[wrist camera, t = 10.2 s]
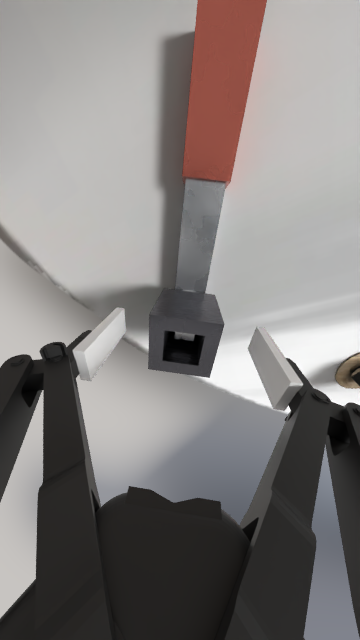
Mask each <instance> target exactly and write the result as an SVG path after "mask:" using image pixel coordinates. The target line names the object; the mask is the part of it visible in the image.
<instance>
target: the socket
mask: <svg viewBox="0 0 360 640" xmlns="http://www.w3.org/2000/svg"><path fill="white" fill-rule="evenodd" d="M223 328H224V322H223V319H222V316H221V313H220V309H219V306H218V303H217V300H216V297H215V295H212V294H205V293H197V292H190V291H182V290H175V289H167V288H164V289H163V291H162V293H161V295H160V296H159V298H158V300H157V302H156V304H155V305H154V307H153V309H152V311H151V313H150V317H149V362H148V365H149V366H148V369H152V370H160V371H166V372H173V373H180V374H187V375H194V376H201V377H208V378H210V374H211V371H212V367H213V363H214V360H215V356H216V353H217V349H218V346H219V342H220V338H221V335H222V331H223ZM175 332H181V333H188V334H195V336H194V341H190V340H182V339H175Z"/></svg>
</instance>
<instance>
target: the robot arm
mask: <svg viewBox="0 0 360 640" xmlns="http://www.w3.org/2000/svg"><path fill="white" fill-rule="evenodd" d="M125 332H126V324H125V309H124V308H119V307H117V308H116V309H115V310H114V311H113V312H112V313H110V314H109V315H108V316H107V317H106V318H105V319H104V320H103V321H102V322H101V323H100V324H99V325H98V326H97V327H96V328H95V329H94V330H93V331H91V330H88V331H86V332H84V333H82V334H81V335H80V336H79V337H78V338H76V339H75V341H73V342H72V343H71V344H70V345H69V346H68V347H66V345H65V344H64V343H62V342H53V343H50V344H47V345H45V346H44V347H42V348H41V350H40V354H41V356H42V359H40V360H32V358H31V357H30V356H29V355H18V356H15V357H12V358H10V359H8V360H7V361H5V362H4V363H3V365H2V366H1V368H0V502H1V499H2V496H3V494H4V491H5V488H6V486H7V483H8V480H9V478H10V474H11V472H12V470H13V467H14V464H15V461H16V459H17V456H18V453H19V451H20V448H21V445H22V443H23V440H24V437H25V435H26V432H27V429H28V427H29V424H30V421H31V419H32V416H33V413H34V410H35V408H36V405H37V403H38V400H39V397H40V394H41V392H42V390H44V419H43V423H44V424H43V428H44V429H43V433H44V434H43V448H44V449H43V484H42V486H41V487H40V488H39V492H38V510H37V554H36V579H35V580H34V582H33V583H32V584H31V585H30V586H29V587H28V588H27V589H26V590H25V592H24V593H23V594H22V595H21V596H20V597H19V598H18V599H17V601H16V602H15V603H14V604H13V605H12V606H11V607H10V608H9V609H8V611H7V612H6V613H5V614H4V615H3V616H2V617H1V619H0V640H305V639H304V638H303V635H304V629H305V622H306V615H307V608H308V601H309V594H310V587H311V580H312V573H313V565H314V559H315V551H316V537H315V534H314V533H313V531H312V528H311V525H312V518H313V512H314V506H315V500H316V495H317V489H318V483H319V477H320V471H321V465H322V459H323V454H324V448H325V444H326V449H327V456H328V462H329V467H330V473H331V479H332V485H333V491H334V497H335V502H336V508H337V515H338V520H339V526H340V532H341V538H342V544H343V550H344V555H345V562H346V567H347V573H348V579H349V585H350V591H351V597H352V603H353V608H354V613H355V618H356V623H357V628H358V633H359V637H360V405H358V404H355V403H347V404H346V405H345V406H341V405H338V404H336V403H333V402H331V400H330V399H329V398H328V397H327V396H326V395H325V394H324V393H322V392H321V391H319V390H317V389H314V388H313V387H312V386H311V384H310V383H309V382H308V380H307V379H306V378H305V376H304V375H303V374H302V372H301V371H300V370H299V368H298V367H297V365H296V364H295V363H294V362H293V361H292V360H290V359H288V358H285V357H284V355H283V354H282V352H281V351H280V349H279V348H278V347H277V345H276V344H275V342H274V341H273V339H272V338H271V336H270V335H269V334H268V332H267V331H266V329H265V328H263V327H256V330H255V332H254V335H253V337H252V340H251V342H250V345H249V347H248V350H249V353H250V355H251V357H252V360H253V362H254V364H255V367H256V369H257V371H258V374H259V376H260V378H261V381H262V383H263V385H264V388H265V390H266V392H267V395H268V397H269V400H270V402H271V404H272V407H273V409H277V410H283V411H285V409H286V408H287V407H288V405H289V407H290V409H291V412H290V413H289V414H288V416H287V417H286V418H285V421H286V422H285V424H284V427H283V429H282V432H281V434H280V436H279V439H278V441H277V443H276V446H275V448H274V450H273V453H272V455H271V458H270V460H269V462H268V465H267V467H266V469H265V472H264V474H263V476H262V479H261V481H260V484H259V486H258V488H257V491H256V493H255V495H254V498H253V500H252V503H251V505H250V507H249V509H248V511H247V513H246V514H245V516H244V518H243V519H242V521H241V523H240V526H239V525H238V524H237V522H236V521H235V520H234V519H233V518H232V517H231V516H230V515H229V514H227V513H226V512H225V511H223V510H222V509H221V504H220V502H219V501H213V500H207V499H201V498H195V499H190V500H186V501H181V502H177V503H173V502H171V501H169V500H167V499H166V498H164V497H162V496H161V495H159V494H157V493H155V492H154V491H152V490H149V489H143V488H137V487H131V486H129V489H128V492H127V493H123V494H121V495H118V496H116V497H114V498H112V499H111V500H109V501H108V502H106V503H105V504H104V505H103V506H102V507H101V505H100V499H99V496H98V491H97V487H96V483H95V478H94V472H93V467H92V462H91V456H90V451H89V446H88V440H87V435H86V430H85V425H84V419H83V414H82V409H81V403H80V398H79V393H78V387H77V382H76V377H77V376H78V375H80V378H81V380H87V381H92V379H93V378H94V376H95V375H96V373H97V372H98V370H99V369H100V368H101V366H102V365H103V363H104V362H105V360H106V359H107V358H108V356H109V355H110V353H111V352H112V351H113V349H114V348H115V346H116V345H117V343H118V342H119V340H120V339H121V338H122V336H123V335H124V333H125Z"/></svg>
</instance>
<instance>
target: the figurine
mask: <svg viewBox="0 0 360 640" xmlns="http://www.w3.org/2000/svg"><path fill="white" fill-rule="evenodd" d="M349 358H350V357H349ZM343 363H344V361H343ZM343 363H341V365H342V364H343ZM341 365H340V366H341ZM340 366H339V367H340ZM335 378H336V381H337V382H338V383H339V384H340V385H341V386H343V387H345V388H352V389H353V388H360V353H359V354H357V355H355V356H352V357H351V358H350V359H349V360H347V361H346V362H345V363H344V364H343V365H342V366H341V367H340V368H339V370H338V371H337V374H336V376H335Z"/></svg>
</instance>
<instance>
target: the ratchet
mask: <svg viewBox="0 0 360 640" xmlns="http://www.w3.org/2000/svg"><path fill="white" fill-rule="evenodd" d="M266 2H267V0H198V4H197V15H196V27H195V38H194V49H193V60H192V72H191V83H190V94H189V106H188V117H187V128H186V139H185V151H184V162H183V173H182V177H183V182H184V184H185V192H184V202H183V213H182V223H181V233H180V243H179V254H178V264H177V274H176V285H175V290H182V291H190V292H197V293H205V291H206V285H207V280H208V275H209V270H210V265H211V259H212V254H213V249H214V244H215V238H216V233H217V228H218V223H219V218H220V212H221V207H222V202H223V197H224V191H225V189H226V187H227V186H228V184H229V183H230V181H231V176H232V171H233V167H234V162H235V157H236V152H237V147H238V142H239V137H240V132H241V127H242V122H243V117H244V112H245V107H246V102H247V97H248V92H249V87H250V82H251V77H252V72H253V67H254V62H255V57H256V52H257V47H258V42H259V37H260V32H261V27H262V22H263V17H264V12H265V7H266ZM194 336H195V334H188V333H181V332H175V339H182V340H190V341H194Z"/></svg>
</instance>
